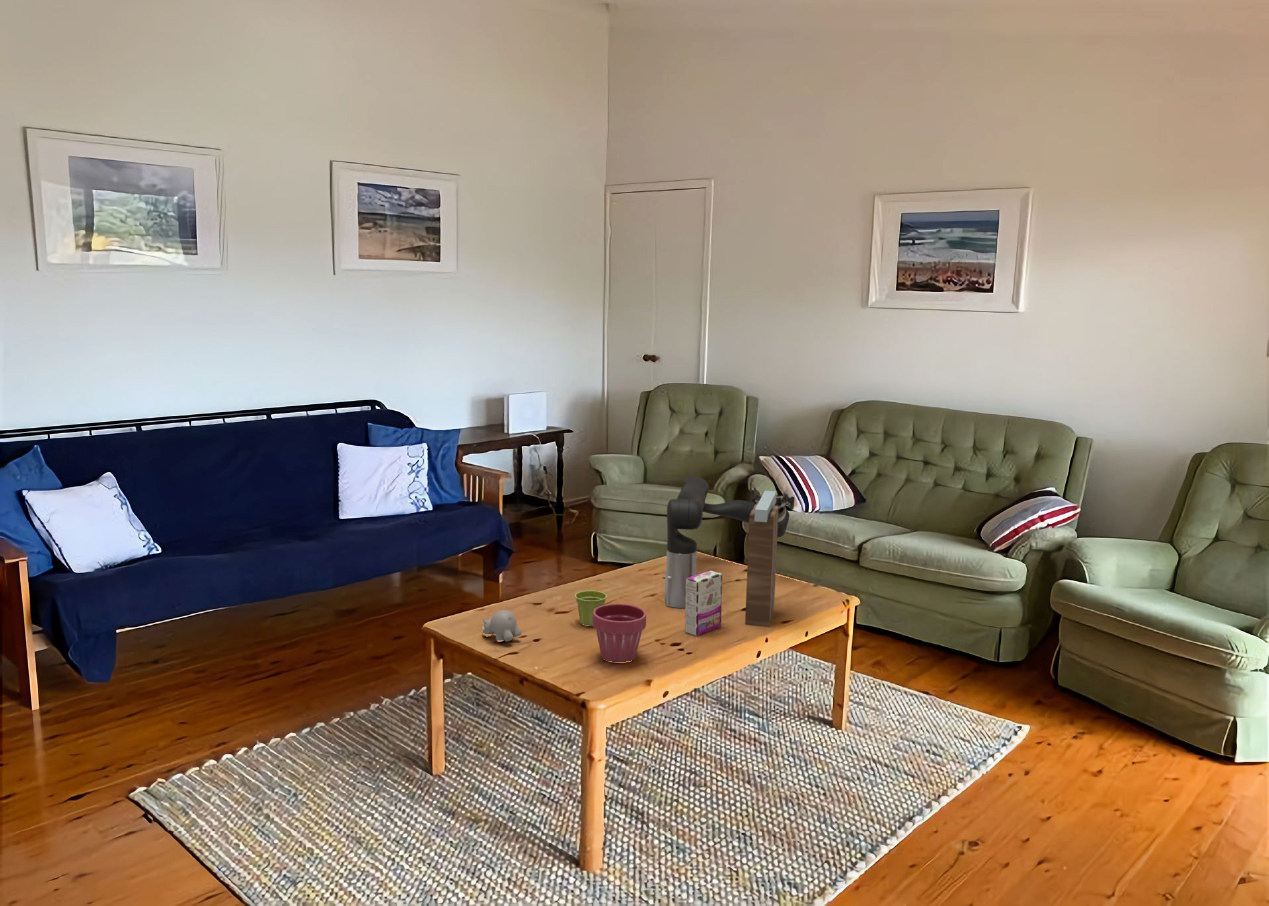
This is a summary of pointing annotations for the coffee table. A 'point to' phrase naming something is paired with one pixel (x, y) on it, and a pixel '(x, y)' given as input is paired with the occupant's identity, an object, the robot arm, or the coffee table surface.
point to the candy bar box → (703, 603)
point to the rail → (765, 506)
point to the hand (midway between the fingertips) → (770, 494)
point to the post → (761, 569)
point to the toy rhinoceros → (502, 625)
